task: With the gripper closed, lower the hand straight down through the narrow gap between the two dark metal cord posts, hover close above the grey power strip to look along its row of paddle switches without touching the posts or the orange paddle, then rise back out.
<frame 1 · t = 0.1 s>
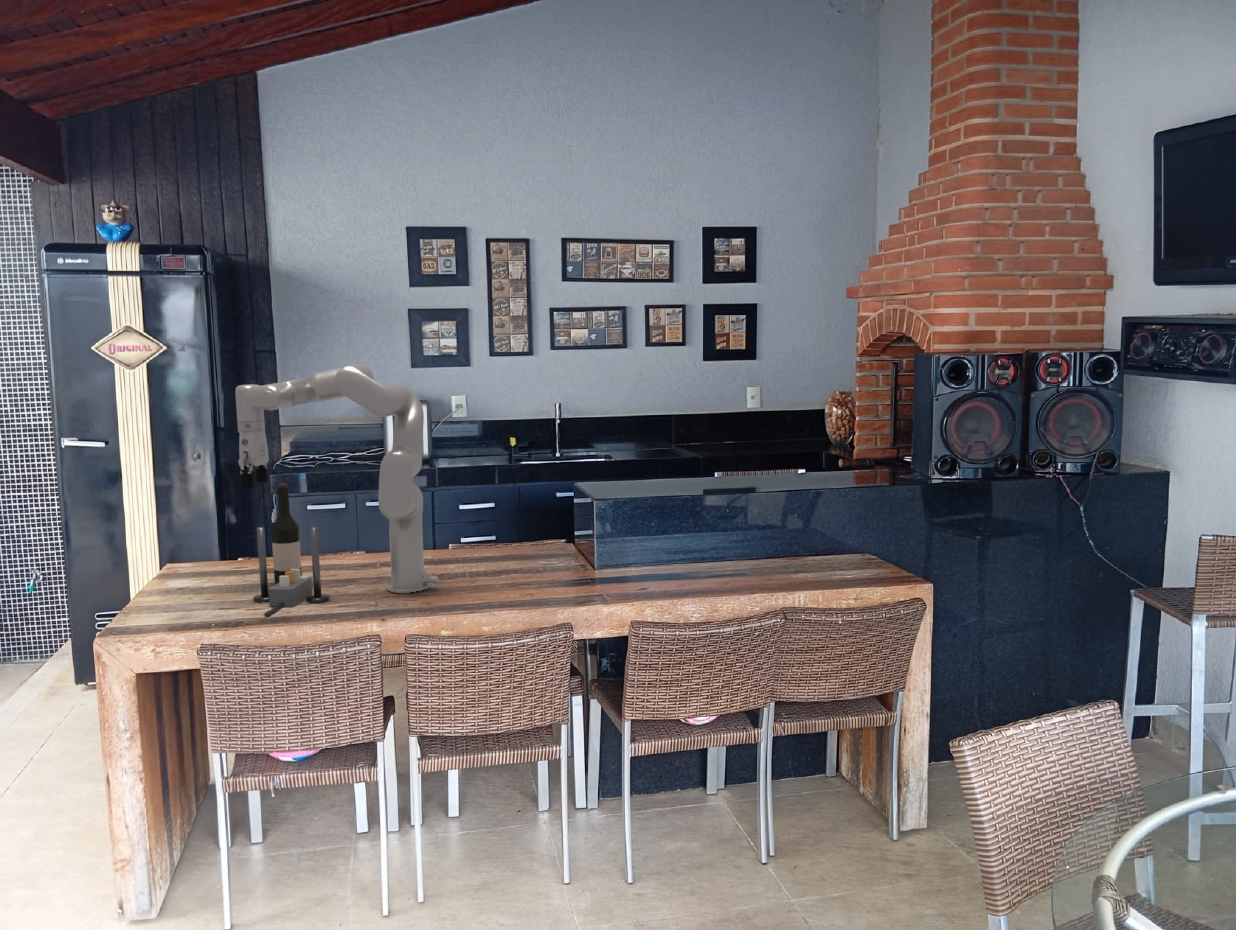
hand: (255, 484, 318), 31 cm above the table, tool pointing down, fingers open, 9 cm apart
breaker paddle: (290, 576, 306), point 7 cm above the table, hinge at 0.0°
cord post 1: (265, 600, 308), on the table
wine bottle: (288, 581, 330), on the table
grey power strip: (291, 600, 307), on the table
cord post 2: (318, 600, 306), on the table
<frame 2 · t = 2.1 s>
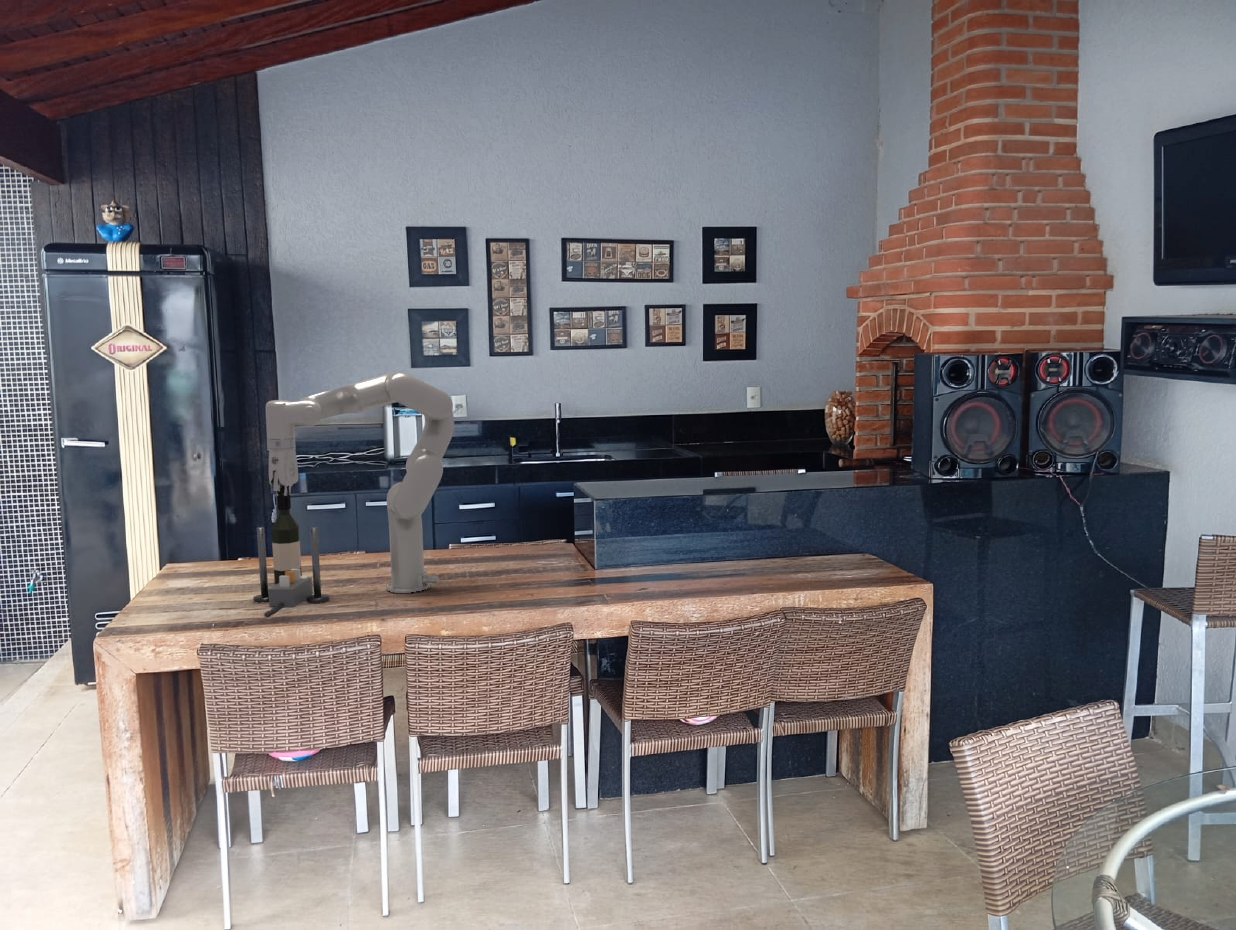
hand: (284, 509, 303), 26 cm above the table, tool pointing down, fingers closed
nothing on the table moved.
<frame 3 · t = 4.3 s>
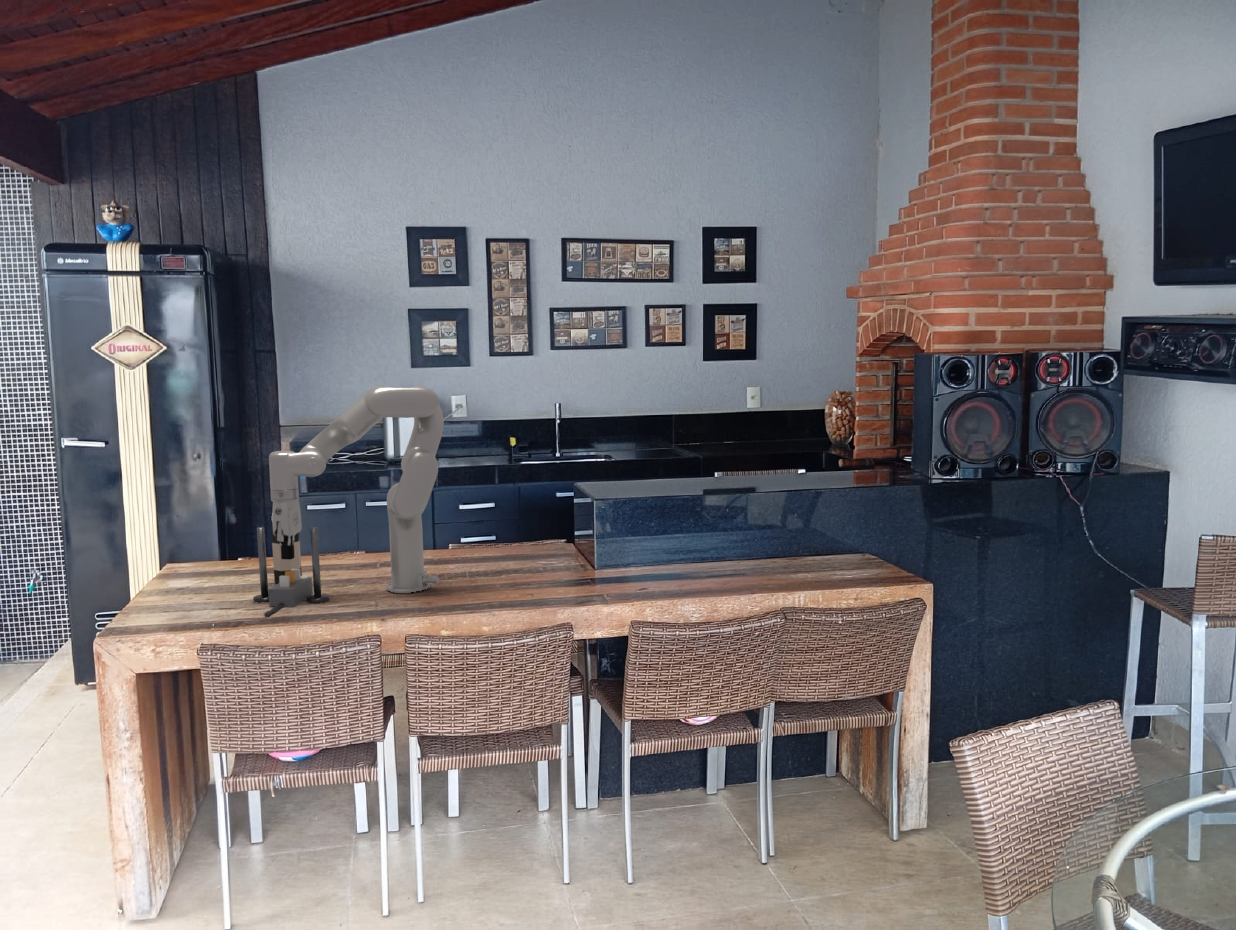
hand: (288, 558, 305), 12 cm above the table, tool pointing down, fingers closed
nothing on the table moved.
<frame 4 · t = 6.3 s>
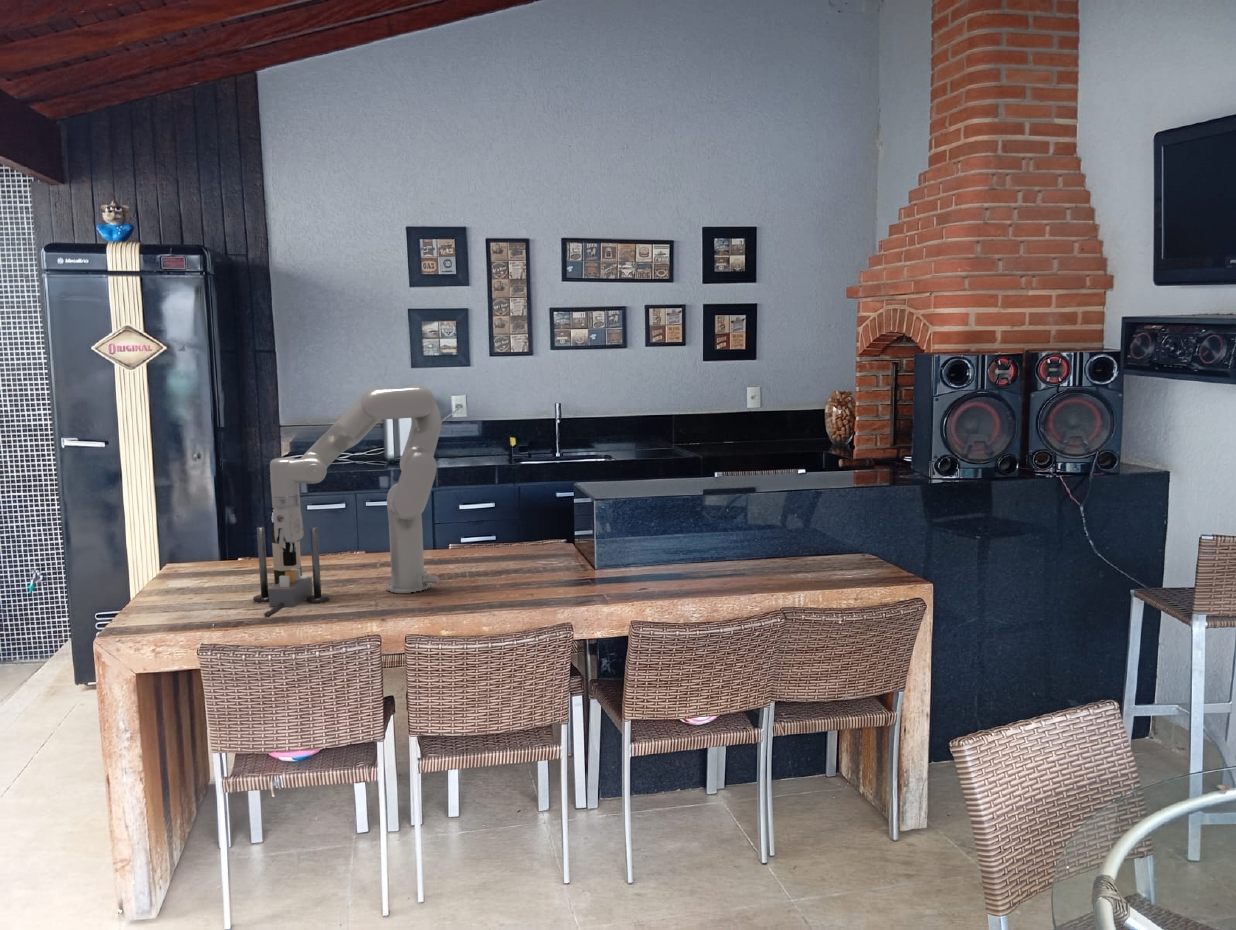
hand: (290, 565, 306), 10 cm above the table, tool pointing down, fingers closed
nothing on the table moved.
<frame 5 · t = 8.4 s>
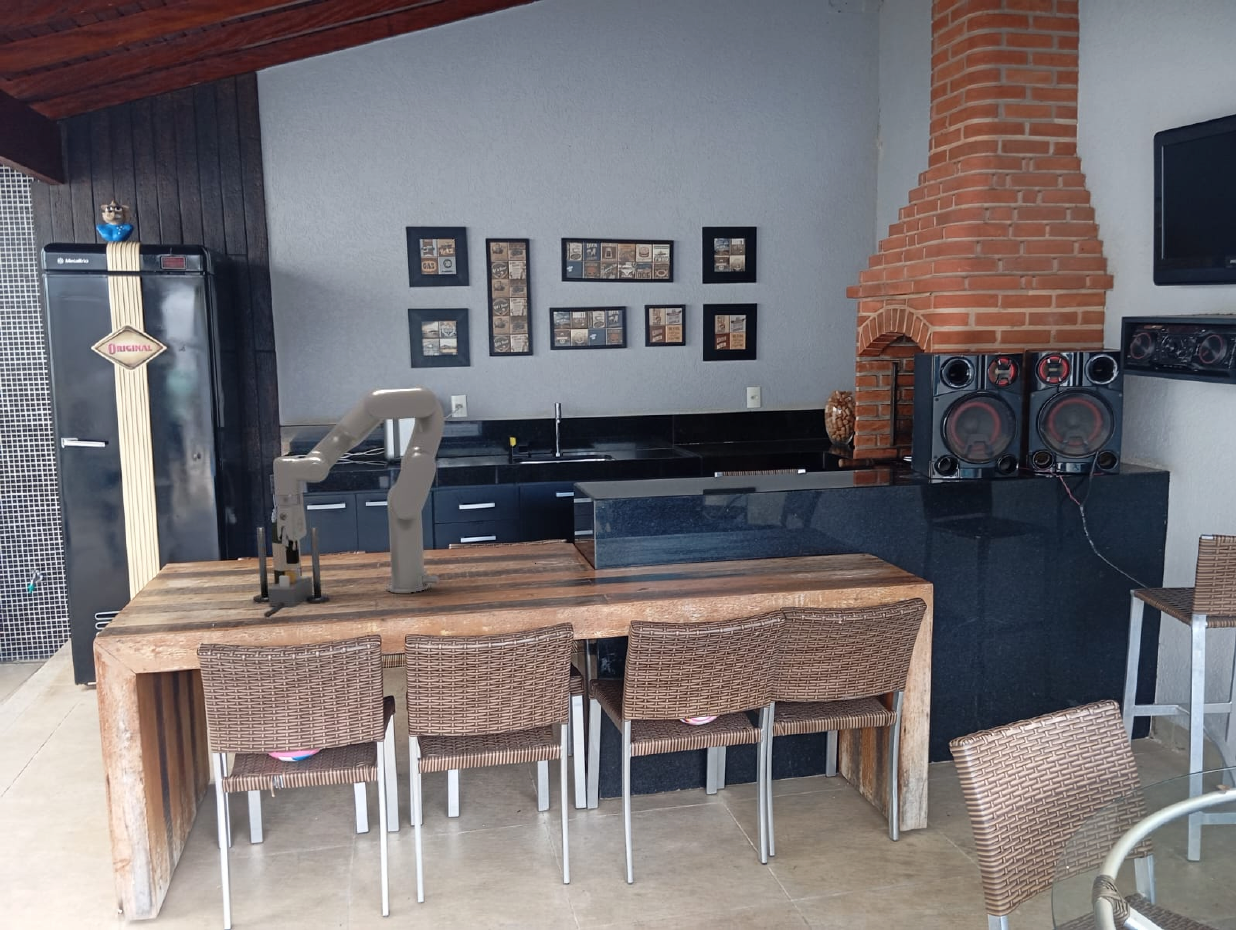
hand: (293, 563, 308), 10 cm above the table, tool pointing down, fingers closed
nothing on the table moved.
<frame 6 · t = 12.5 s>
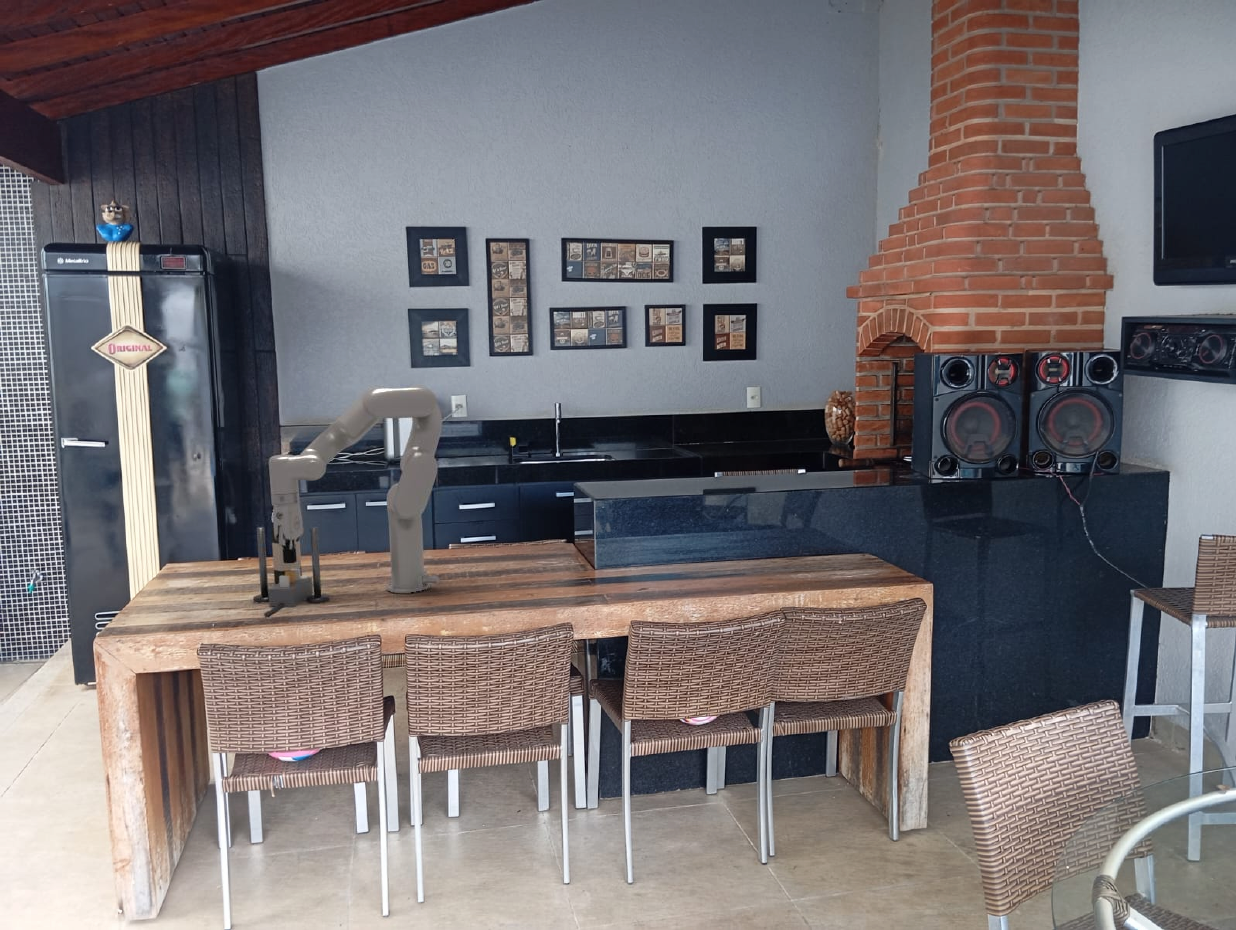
hand: (290, 562, 306), 11 cm above the table, tool pointing down, fingers closed
nothing on the table moved.
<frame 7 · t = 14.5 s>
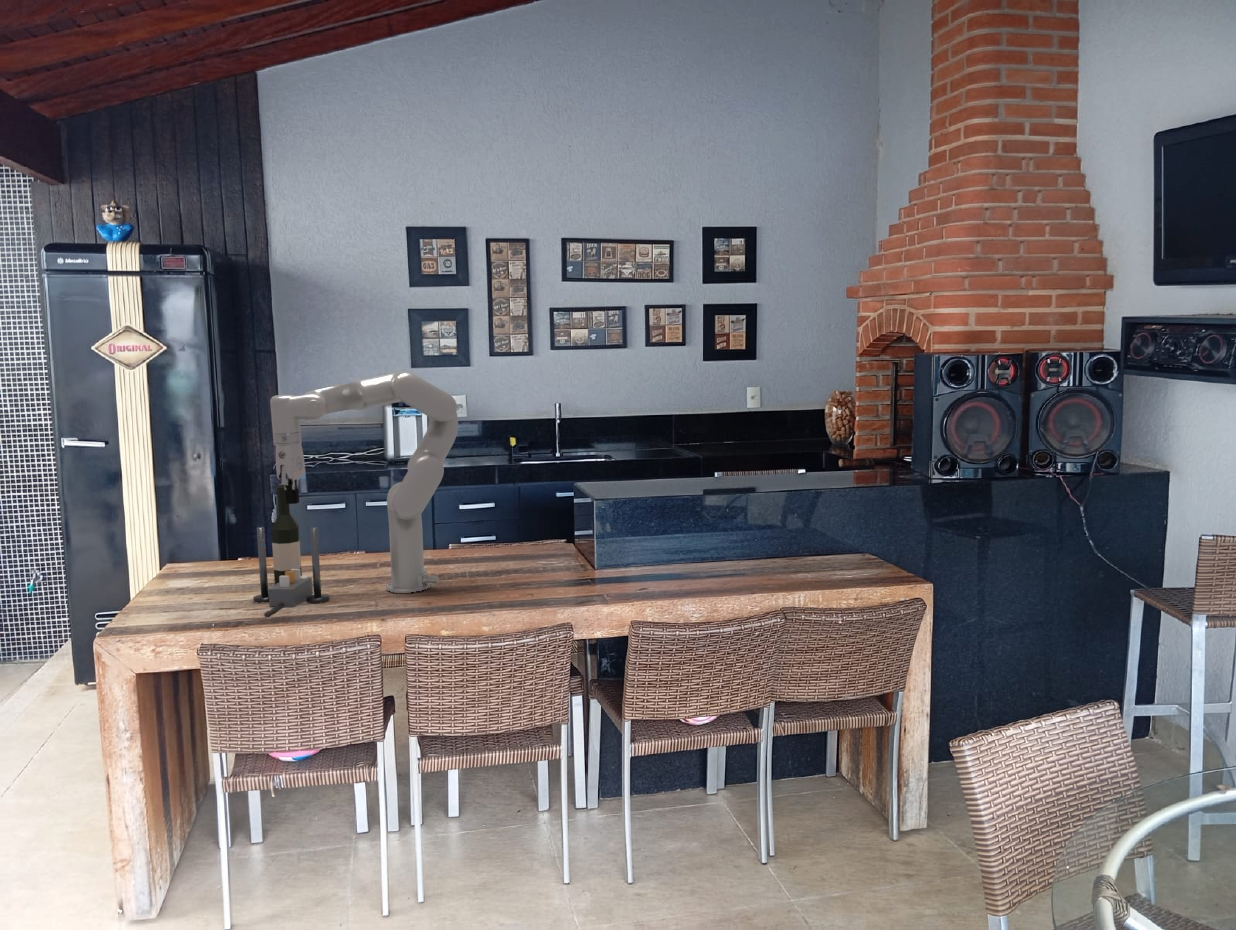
hand: (292, 503, 305), 28 cm above the table, tool pointing down, fingers closed
nothing on the table moved.
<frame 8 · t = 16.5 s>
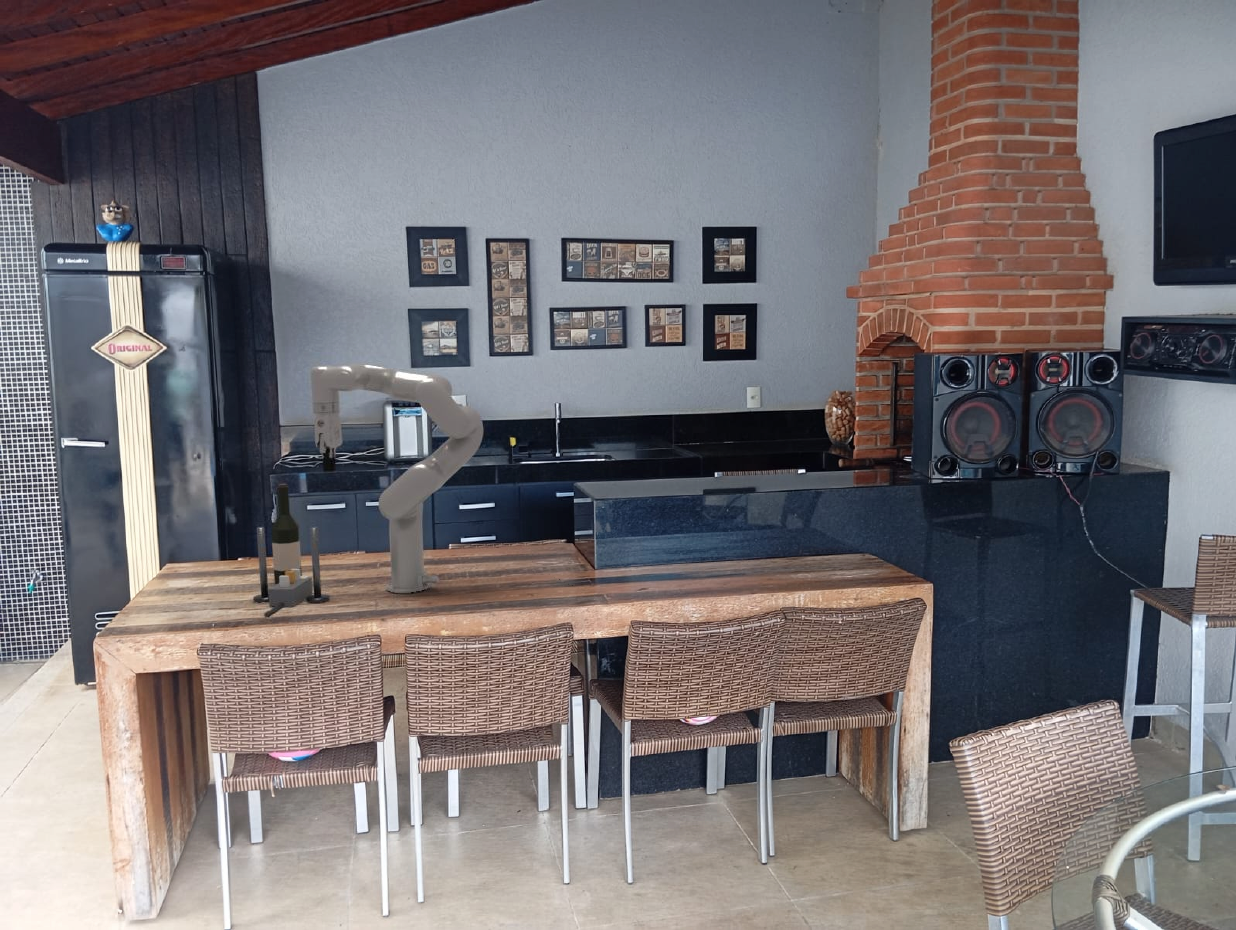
hand: (329, 471, 315), 35 cm above the table, tool pointing down, fingers closed
nothing on the table moved.
at the end: breaker paddle at +0° (first picture: +0°); cord post 2 moved 0.0 cm from its start; cord post 1 moved 0.0 cm from its start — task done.
